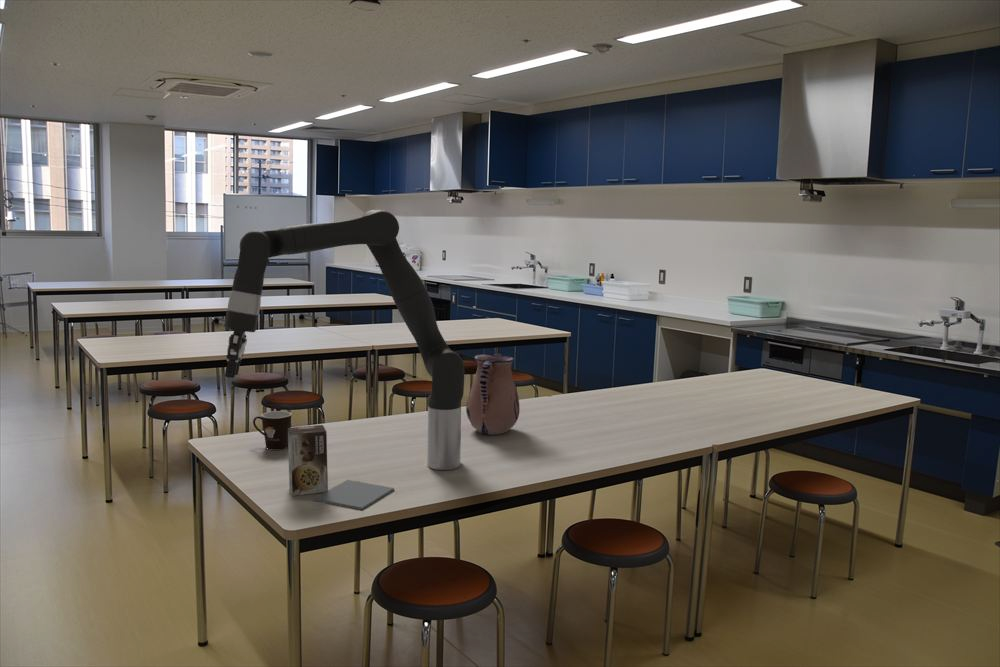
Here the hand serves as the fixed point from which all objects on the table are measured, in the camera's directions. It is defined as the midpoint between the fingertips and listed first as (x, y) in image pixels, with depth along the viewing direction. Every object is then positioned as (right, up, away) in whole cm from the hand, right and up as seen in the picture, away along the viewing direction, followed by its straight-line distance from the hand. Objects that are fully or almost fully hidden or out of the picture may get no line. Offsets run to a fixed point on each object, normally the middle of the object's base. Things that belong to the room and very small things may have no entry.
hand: (231, 375), depth 192 cm
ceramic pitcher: (+64, -22, +63) cm, 92 cm away
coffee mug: (-2, -24, +43) cm, 49 cm away
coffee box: (+17, -30, +6) cm, 35 cm away
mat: (+30, -30, +4) cm, 42 cm away
